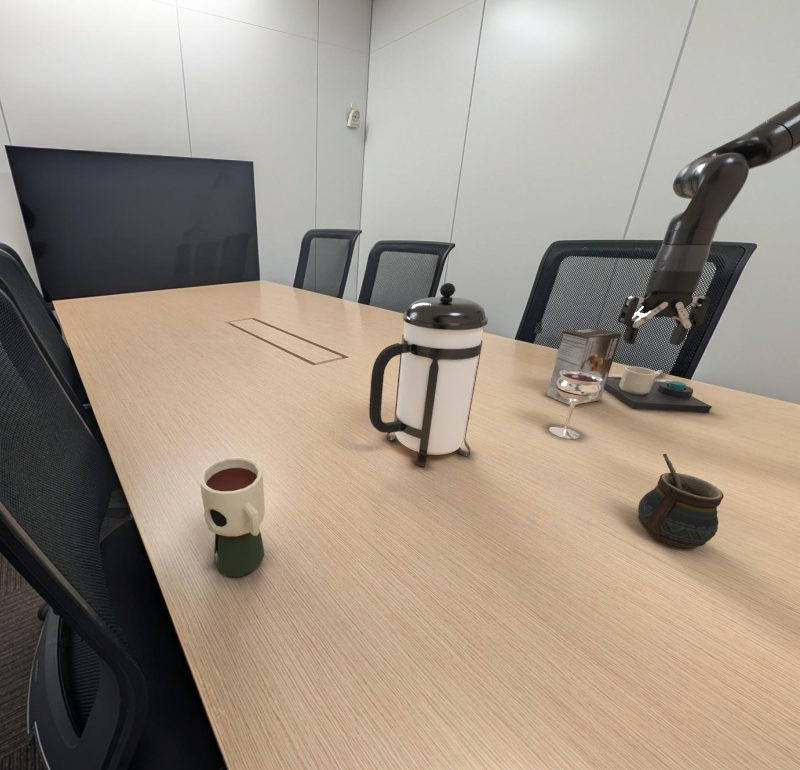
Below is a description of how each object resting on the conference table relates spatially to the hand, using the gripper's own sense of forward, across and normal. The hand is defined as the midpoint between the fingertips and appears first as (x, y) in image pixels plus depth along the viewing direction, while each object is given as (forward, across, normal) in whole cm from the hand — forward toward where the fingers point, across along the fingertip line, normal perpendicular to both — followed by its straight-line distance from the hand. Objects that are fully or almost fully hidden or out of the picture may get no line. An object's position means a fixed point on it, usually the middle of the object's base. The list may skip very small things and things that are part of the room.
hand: (651, 343), depth 83 cm
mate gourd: (+13, +22, +48) cm, 54 cm away
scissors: (+13, -6, -13) cm, 20 cm away
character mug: (+13, +76, +62) cm, 99 cm away
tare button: (+10, -8, 0) cm, 13 cm away
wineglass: (+13, +23, +21) cm, 33 cm away
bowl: (+11, 0, 0) cm, 11 cm away
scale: (+13, -3, 0) cm, 13 cm away
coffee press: (+13, +51, +32) cm, 61 cm away
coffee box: (+13, +14, +3) cm, 19 cm away
